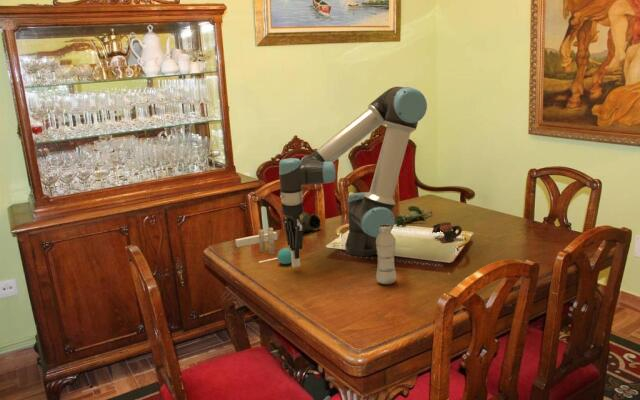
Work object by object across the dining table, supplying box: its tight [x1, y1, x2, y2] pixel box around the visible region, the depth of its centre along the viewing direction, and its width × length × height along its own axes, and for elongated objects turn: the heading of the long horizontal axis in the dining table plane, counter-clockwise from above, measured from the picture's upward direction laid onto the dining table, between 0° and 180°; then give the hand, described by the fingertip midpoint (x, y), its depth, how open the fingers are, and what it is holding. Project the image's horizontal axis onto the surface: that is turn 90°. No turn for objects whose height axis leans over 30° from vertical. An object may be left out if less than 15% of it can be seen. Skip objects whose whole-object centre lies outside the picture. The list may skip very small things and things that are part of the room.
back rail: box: [234, 231, 278, 248], centre depth 236 cm, size 18×2×3 cm, turn 117°
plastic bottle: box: [375, 224, 397, 285], centre depth 185 cm, size 6×7×20 cm
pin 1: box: [258, 228, 266, 253], centre depth 224 cm, size 2×2×9 cm
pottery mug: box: [431, 222, 463, 244], centre depth 228 cm, size 12×10×8 cm
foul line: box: [258, 256, 278, 264], centre depth 216 cm, size 16×1×1 cm, turn 117°
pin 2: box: [267, 227, 276, 251], centre depth 226 cm, size 2×2×9 cm
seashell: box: [300, 211, 321, 234], centre depth 246 cm, size 11×11×10 cm
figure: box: [394, 205, 433, 226], centre depth 255 cm, size 16×7×25 cm
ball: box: [277, 247, 292, 265], centre depth 209 cm, size 6×6×6 cm
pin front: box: [267, 230, 275, 255], centre depth 221 cm, size 2×2×9 cm
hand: (296, 266), depth 201 cm, fingers closed
